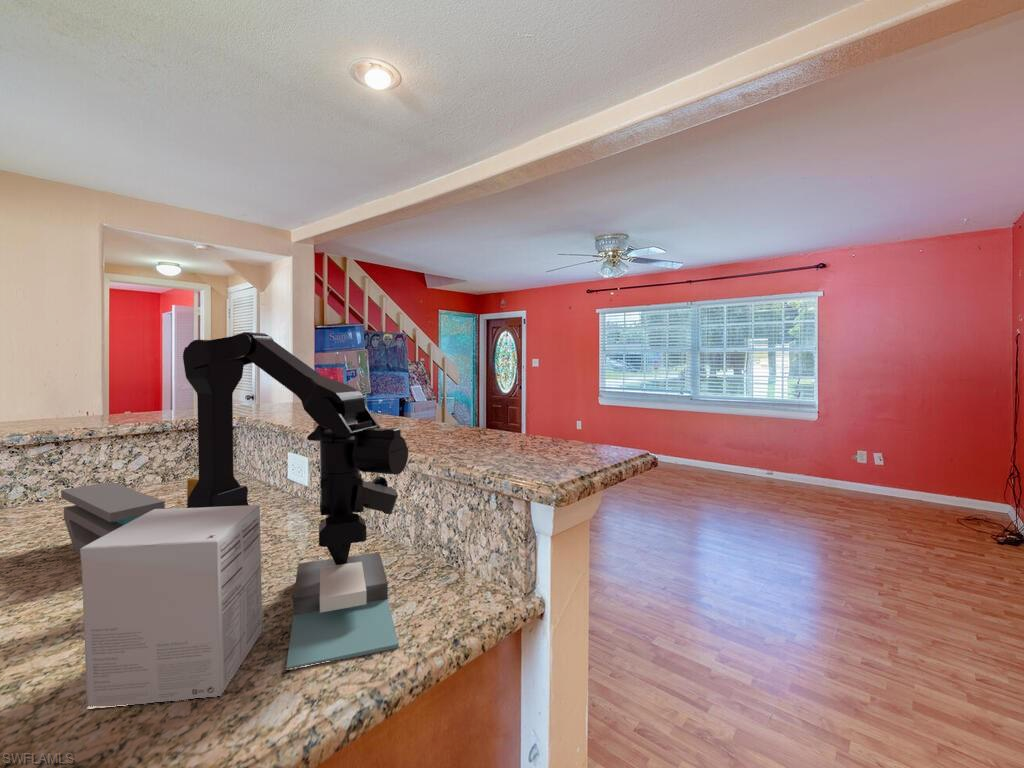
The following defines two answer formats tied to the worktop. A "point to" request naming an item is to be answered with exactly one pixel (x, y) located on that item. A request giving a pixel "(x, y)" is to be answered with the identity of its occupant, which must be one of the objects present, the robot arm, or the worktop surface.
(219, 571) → the supplement box
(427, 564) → the worktop surface
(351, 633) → the mat
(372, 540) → the worktop surface
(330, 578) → the tile
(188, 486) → the supplement box
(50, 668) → the worktop surface
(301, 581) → the plate
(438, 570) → the worktop surface
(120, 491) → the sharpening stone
